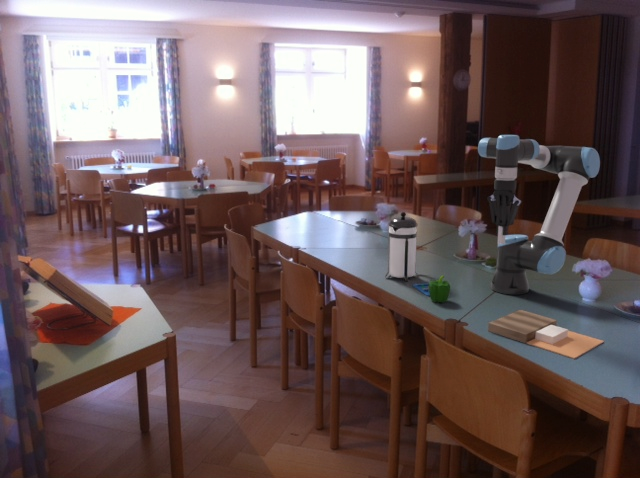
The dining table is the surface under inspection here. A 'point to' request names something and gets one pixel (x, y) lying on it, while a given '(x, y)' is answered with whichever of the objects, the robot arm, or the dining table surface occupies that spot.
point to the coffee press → (402, 247)
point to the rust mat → (569, 345)
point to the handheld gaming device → (423, 288)
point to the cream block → (551, 334)
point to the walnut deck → (520, 325)
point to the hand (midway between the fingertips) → (501, 243)
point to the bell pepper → (439, 290)
